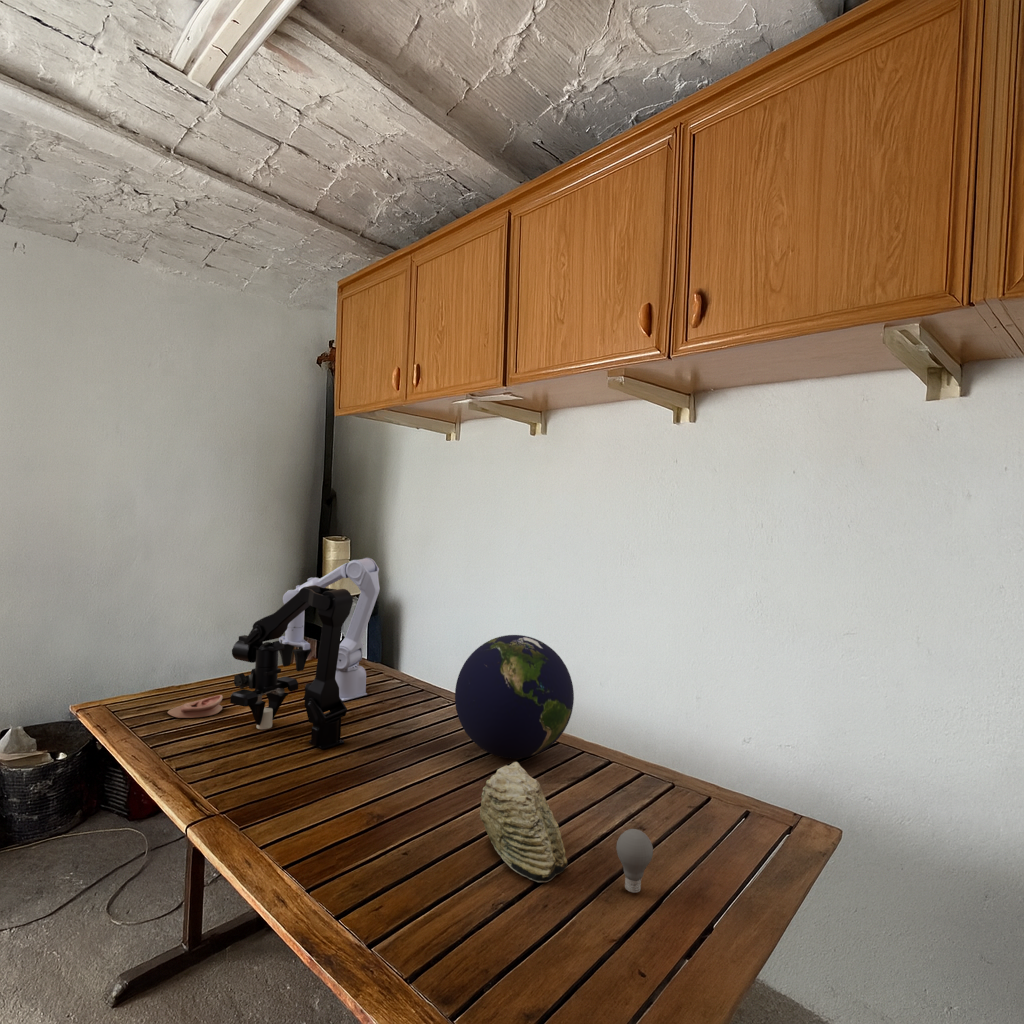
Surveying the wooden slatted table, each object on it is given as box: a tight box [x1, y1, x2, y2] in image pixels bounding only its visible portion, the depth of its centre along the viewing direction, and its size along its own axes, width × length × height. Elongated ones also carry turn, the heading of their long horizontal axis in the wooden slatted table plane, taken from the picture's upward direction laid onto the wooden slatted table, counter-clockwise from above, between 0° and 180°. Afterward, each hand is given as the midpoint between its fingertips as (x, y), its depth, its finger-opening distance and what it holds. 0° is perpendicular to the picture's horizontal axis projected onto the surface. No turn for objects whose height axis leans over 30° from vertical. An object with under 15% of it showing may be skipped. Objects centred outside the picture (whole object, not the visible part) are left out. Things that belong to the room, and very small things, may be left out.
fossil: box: [479, 761, 569, 883], centre depth 114 cm, size 9×18×15 cm, turn 46°
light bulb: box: [615, 828, 654, 894], centre depth 106 cm, size 6×6×10 cm
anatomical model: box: [167, 694, 224, 719], centre depth 180 cm, size 13×4×12 cm
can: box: [256, 707, 274, 730], centre depth 172 cm, size 4×4×5 cm
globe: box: [454, 634, 575, 760], centre depth 160 cm, size 30×30×30 cm
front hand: (264, 722), depth 172 cm, fingers closed on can, 4 cm apart
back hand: (293, 668), depth 205 cm, fingers open, 7 cm apart
